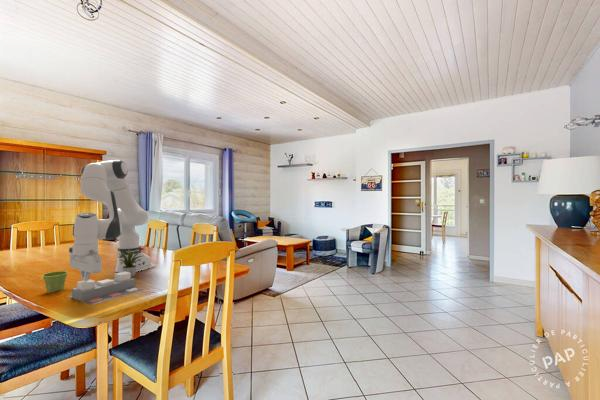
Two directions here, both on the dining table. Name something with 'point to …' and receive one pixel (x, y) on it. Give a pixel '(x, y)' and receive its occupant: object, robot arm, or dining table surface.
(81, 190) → the robot arm
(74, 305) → the dining table surface
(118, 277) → the key
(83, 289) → the key
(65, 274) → the plant pot
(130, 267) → the house plant
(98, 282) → the key middle
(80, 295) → the switch panel
